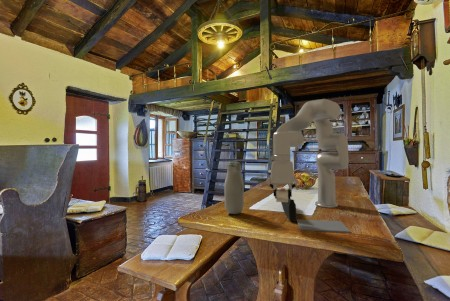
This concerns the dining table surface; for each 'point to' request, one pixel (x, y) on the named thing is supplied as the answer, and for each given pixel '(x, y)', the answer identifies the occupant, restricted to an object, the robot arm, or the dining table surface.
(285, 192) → the card box
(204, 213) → the dining table surface
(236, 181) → the glass bottle
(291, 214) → the magazine
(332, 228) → the mat
